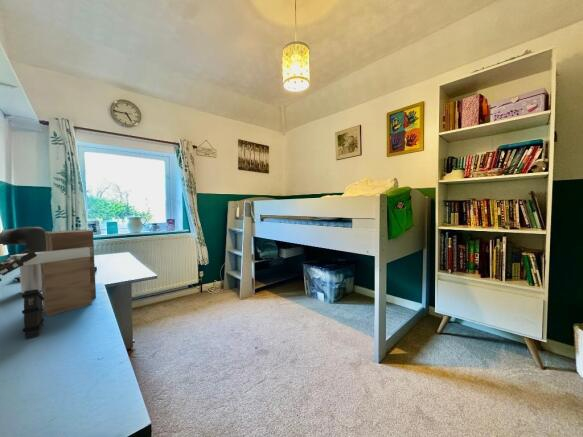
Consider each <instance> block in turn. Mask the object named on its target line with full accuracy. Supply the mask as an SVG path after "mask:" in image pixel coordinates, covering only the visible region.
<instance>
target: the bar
mask: <svg viewBox="0 0 583 437" xmlns="http://www.w3.org/2000/svg"><path fill="white" fill-rule="evenodd" d="M26 254H28V253H26ZM26 254H20V253H18V254H10V255H9V257H10V260H11V259H13V260H15V259H17V258H21V257H22V256H24V255H26ZM35 254H36V255H37V256H36V257H34V258H32V259H30V260H29V261H27V262H25V264H24V265H23V266H25V265H32V264H40V263H47V262H55V261H62V260H69V259H77V258H84V257H92V256H94V257H95V254H94V255H93V247H82V248H73V249H63V250H54V251H45V252H36V253H35Z"/></svg>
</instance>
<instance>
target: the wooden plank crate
mask: <svg viewBox="0 0 583 437" xmlns="http://www.w3.org/2000/svg"><path fill="white" fill-rule="evenodd" d="M94 233H95V232H94V230H91V229H85V228H84V229H71V230H70V229H69V230H55V231H46V232H45V234H46V251H54V250H63V249H73V248H82V247H93V255H94V256H92V257H84V258H77V259H69V260H62V261H55V262H47V263H40V264H41V281H42V291H41V294H42V296H43V298H44V300H42V309H44V311H42V313H43V314H45V315H46V317H47V316H48V317H49V316H53V315H56V314H60V313H64V312H67V311H71V310H75V309H79V308H83V307H86V306H90V305H92V299H95V298H97V292H96V287H97V286H96V269H95V249H94V248H95V246H94V245H95V244H94Z"/></svg>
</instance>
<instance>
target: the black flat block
mask: <svg viewBox="0 0 583 437" xmlns="http://www.w3.org/2000/svg"><path fill="white" fill-rule="evenodd" d="M21 296H22V297H21V298H23V299H24V300H23V310H21V314H22V315H23V328H22V333H24V339H25V340H28V339H33V338H36V337H38V336H39V335H40V334H41V333H40V332H41V331H42V328H43V325H44V321H45V318H43V317H44V316H43V314H44V313H43V311H44V309H43V300H44V298H43V296H42V292H41V291H39V290H38V289H35V290H29V291H24V293H23V294H22V295H21Z"/></svg>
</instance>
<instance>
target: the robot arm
mask: <svg viewBox="0 0 583 437" xmlns="http://www.w3.org/2000/svg"><path fill="white" fill-rule="evenodd" d="M45 232H47V231H46V230H45V229H44V228H43V227H40V226H23V227H22V226H21V227H16V228H10V229H9V228H8V229H2V232H1V233H0V244H3V245H2V246H10V245H13V246H14V245H20V246H21V245H23V246H25V250H24V251H21V252H20V253H19V254H26V253H28V254H26V255H24V256H22V257H21V258H17V259H15V260H13V259H11V260H10V256H9V257H7V258H5V259H2V260H1V261H0V275H1V276H6V275H7V274H9V273H11V272H13V271H15V270H17V269H18V268H19V274H20V275H19V276H20V293H21V294H24V291H29V290H35V289H38V290H39V291H40V292H42V281H41V264H32V265H25V266H23V265H24V264H25V262H27V261H29V260H30V259H32V258H34V257H36V256H37V255H36V254H35V253H36V252H45V251H46V234H45ZM1 281H2V278H1V277H0V282H1Z"/></svg>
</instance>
